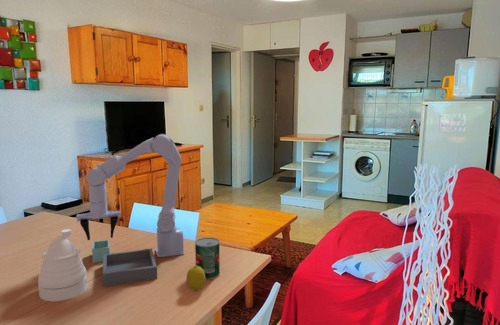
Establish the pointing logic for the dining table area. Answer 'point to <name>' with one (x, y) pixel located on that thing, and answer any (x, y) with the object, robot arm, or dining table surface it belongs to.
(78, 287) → the honey pot
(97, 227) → the dining table surface
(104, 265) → the charcoal crate
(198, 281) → the lemon
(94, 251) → the teal crate
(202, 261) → the canned tomato
